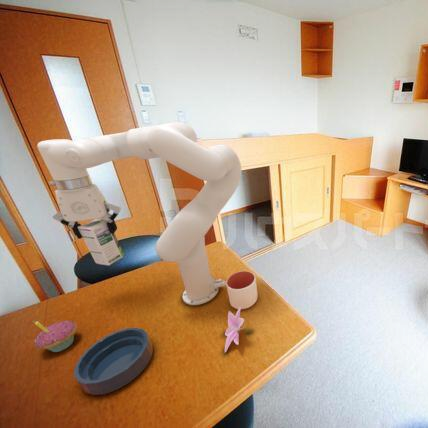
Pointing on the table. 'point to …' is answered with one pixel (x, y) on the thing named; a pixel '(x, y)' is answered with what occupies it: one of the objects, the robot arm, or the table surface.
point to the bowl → (114, 361)
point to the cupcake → (56, 336)
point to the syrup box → (101, 242)
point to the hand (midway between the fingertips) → (98, 234)
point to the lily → (233, 328)
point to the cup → (242, 289)
